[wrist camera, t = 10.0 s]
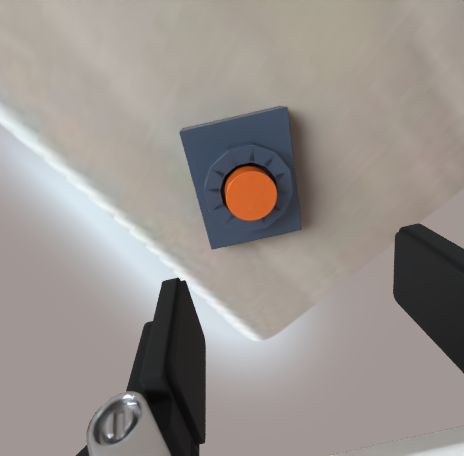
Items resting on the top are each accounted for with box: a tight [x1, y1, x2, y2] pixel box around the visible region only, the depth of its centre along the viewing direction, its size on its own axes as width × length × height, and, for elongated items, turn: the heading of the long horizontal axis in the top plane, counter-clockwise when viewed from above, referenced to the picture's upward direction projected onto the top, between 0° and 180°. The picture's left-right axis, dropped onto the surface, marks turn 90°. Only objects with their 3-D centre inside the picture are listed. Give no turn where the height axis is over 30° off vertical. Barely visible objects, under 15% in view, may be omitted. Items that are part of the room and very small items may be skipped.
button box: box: [180, 106, 302, 249], centre depth 23 cm, size 10×8×4 cm
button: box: [225, 166, 277, 221], centre depth 21 cm, size 4×4×2 cm
